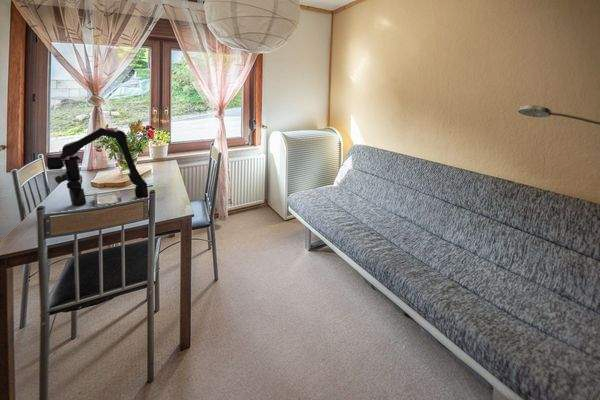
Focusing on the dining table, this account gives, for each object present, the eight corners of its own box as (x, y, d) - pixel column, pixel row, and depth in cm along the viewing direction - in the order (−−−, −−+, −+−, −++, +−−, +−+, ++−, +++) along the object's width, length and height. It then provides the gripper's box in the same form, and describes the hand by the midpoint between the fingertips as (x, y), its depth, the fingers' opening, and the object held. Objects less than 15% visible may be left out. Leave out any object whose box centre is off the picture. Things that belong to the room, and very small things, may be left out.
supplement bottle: (83, 201, 191) (79, 180, 187) (88, 204, 187) (84, 183, 183) (69, 204, 186) (65, 183, 182) (74, 207, 182) (70, 185, 178)
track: (120, 196, 201) (119, 190, 200) (121, 203, 189) (121, 197, 188) (94, 199, 195) (93, 193, 194) (94, 206, 183) (93, 200, 182)
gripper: (55, 166, 184) (61, 193, 189) (52, 173, 168) (58, 203, 173) (79, 164, 189) (84, 191, 194) (78, 171, 174) (83, 200, 179)
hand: (77, 196), depth 185 cm, fingers open, 9 cm apart
